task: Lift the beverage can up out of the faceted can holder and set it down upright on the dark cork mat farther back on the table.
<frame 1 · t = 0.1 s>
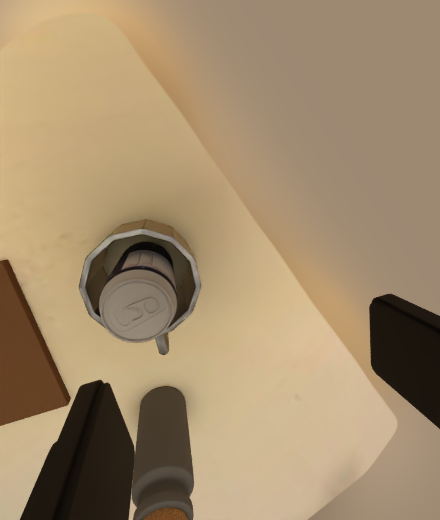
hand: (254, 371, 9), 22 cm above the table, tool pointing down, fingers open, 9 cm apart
bottle: (163, 403, 35), on the table
beverage can: (147, 264, 30), resting in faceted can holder
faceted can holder: (147, 265, 30), on the table
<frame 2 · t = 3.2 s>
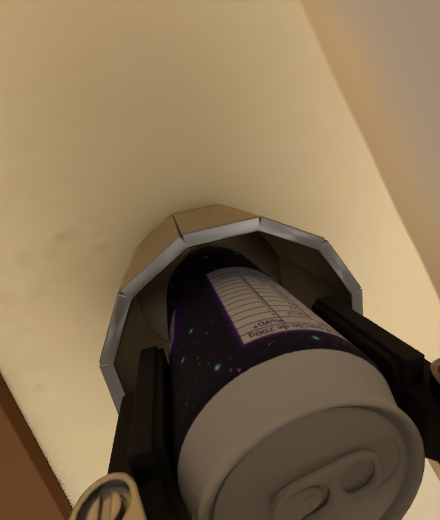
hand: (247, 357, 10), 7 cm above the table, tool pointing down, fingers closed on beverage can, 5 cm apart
beverage can: (211, 287, 17), resting in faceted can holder, touching gripper
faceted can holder: (212, 288, 17), on the table
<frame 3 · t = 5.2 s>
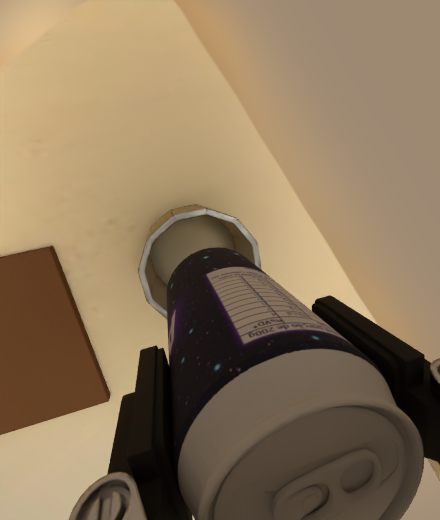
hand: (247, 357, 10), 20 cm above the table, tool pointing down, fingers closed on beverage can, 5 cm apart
beverage can: (211, 287, 17), point 12 cm above the table, touching gripper
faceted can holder: (193, 253, 29), on the table
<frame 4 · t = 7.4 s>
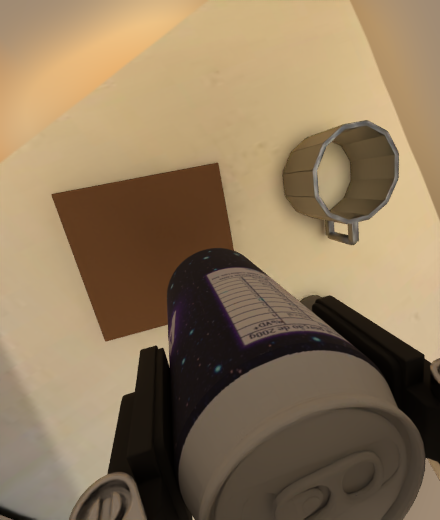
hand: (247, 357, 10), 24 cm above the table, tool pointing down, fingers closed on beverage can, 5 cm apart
mat: (159, 253, 32), on the table
beverage can: (212, 288, 17), point 17 cm above the table, touching gripper
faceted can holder: (319, 177, 34), on the table
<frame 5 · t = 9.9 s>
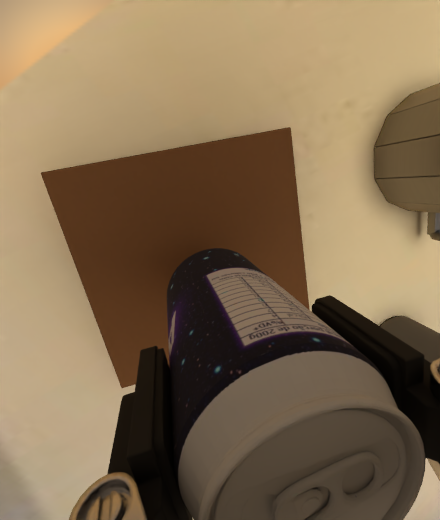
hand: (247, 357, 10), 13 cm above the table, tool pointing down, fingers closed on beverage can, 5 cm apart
bottle: (391, 338, 29), on the table
mat: (199, 262, 22), on the table
beverage can: (212, 288, 17), point 6 cm above the table, touching gripper
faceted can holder: (422, 153, 24), on the table
when the fingers open (8 cm above the table, at t = 11.6 s): beverage can stays where it is, resting on mat.
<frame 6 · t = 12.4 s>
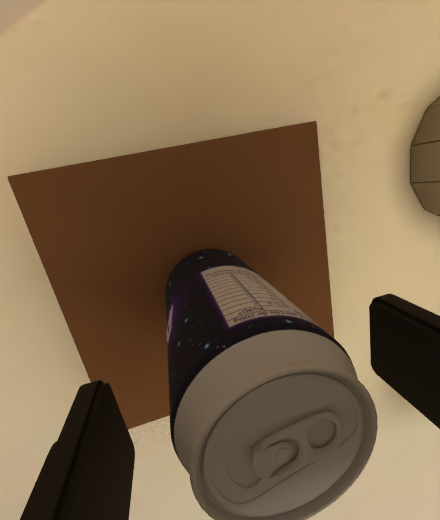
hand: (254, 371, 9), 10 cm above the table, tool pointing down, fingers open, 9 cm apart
mat: (205, 283, 19), on the table
beverage can: (207, 286, 18), point 1 cm above the table, touching mat
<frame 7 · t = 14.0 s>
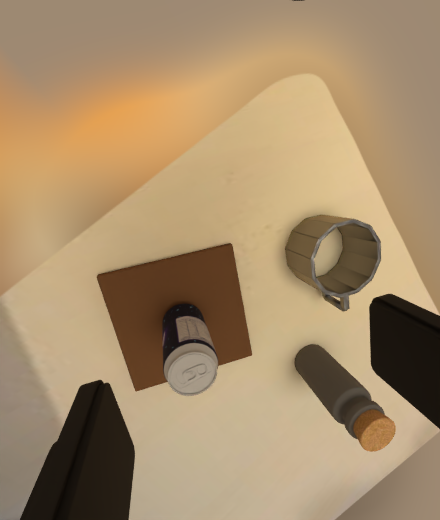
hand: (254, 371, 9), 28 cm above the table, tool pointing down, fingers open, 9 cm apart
bottle: (309, 358, 45), on the table
mat: (182, 317, 38), on the table
beverage can: (182, 319, 38), point 1 cm above the table, touching mat
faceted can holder: (316, 249, 40), on the table
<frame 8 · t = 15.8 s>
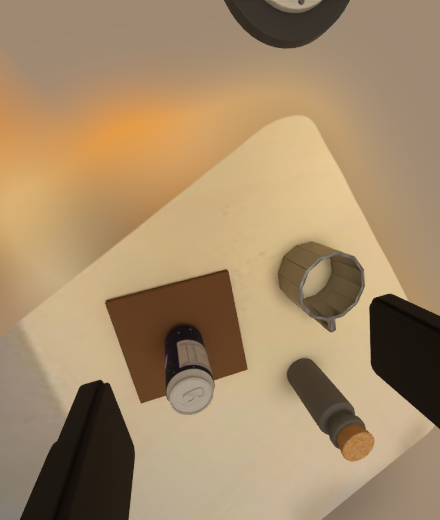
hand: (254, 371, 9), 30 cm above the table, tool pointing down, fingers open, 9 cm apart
bottle: (301, 371, 49), on the table
mat: (182, 336, 42), on the table
beverage can: (183, 338, 41), point 1 cm above the table, touching mat
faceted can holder: (306, 272, 44), on the table
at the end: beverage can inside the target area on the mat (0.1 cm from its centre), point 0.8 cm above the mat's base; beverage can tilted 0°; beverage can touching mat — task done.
